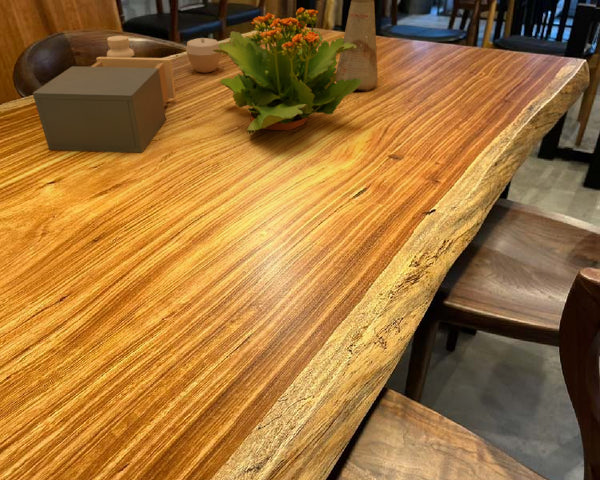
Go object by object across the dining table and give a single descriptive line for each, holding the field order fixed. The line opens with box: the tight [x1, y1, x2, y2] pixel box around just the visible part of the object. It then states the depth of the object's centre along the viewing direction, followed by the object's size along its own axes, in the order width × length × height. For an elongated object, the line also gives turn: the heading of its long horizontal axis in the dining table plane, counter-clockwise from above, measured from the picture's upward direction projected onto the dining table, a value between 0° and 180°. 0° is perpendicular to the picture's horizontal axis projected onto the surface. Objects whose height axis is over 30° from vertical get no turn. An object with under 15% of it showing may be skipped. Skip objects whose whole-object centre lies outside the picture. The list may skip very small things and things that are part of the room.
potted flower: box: [213, 7, 362, 135], centre depth 89 cm, size 25×24×18 cm
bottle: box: [335, 0, 379, 91], centre depth 102 cm, size 9×9×28 cm
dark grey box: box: [32, 65, 167, 154], centre depth 85 cm, size 15×15×9 cm
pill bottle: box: [106, 35, 136, 58], centre depth 107 cm, size 5×5×9 cm
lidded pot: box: [185, 37, 222, 74], centre depth 117 cm, size 8×8×7 cm
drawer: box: [90, 56, 177, 105], centre depth 96 cm, size 18×13×7 cm
